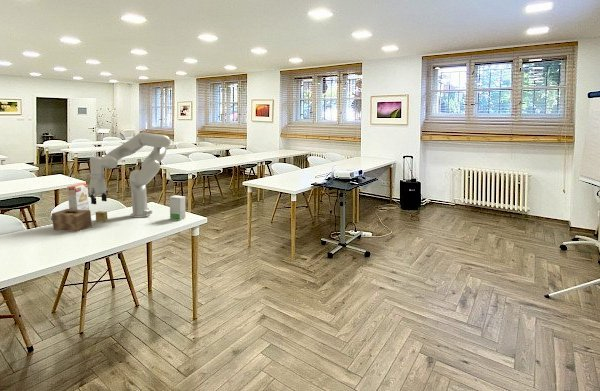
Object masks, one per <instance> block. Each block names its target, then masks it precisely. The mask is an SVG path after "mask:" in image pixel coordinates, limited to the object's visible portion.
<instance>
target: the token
mask: <svg viewBox="0 0 600 391" xmlns="http://www.w3.org/2000/svg"><path fill="white" fill-rule="evenodd" d="M108 220H109V219H108V212H107V211H102V210H97V211H95V222H102V223H104V222H108Z"/></svg>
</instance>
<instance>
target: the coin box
mask: <svg viewBox="0 0 600 391" xmlns="http://www.w3.org/2000/svg"><path fill="white" fill-rule="evenodd" d="M51 220H52V227H53V229H52V230H54V231H65V232H77V233H78V232H81V231H83V230H85V229H88V228H90V227H92V226H93V224H92V214H91V210H90V209H89V210H77V209H69V208H65V209H62V210H59V211H56V212H53V213H51ZM80 230H81V231H80Z"/></svg>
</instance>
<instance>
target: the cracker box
mask: <svg viewBox="0 0 600 391" xmlns="http://www.w3.org/2000/svg"><path fill="white" fill-rule="evenodd" d="M88 187H89V186H88V183H85V182H84V183H83V182H81V183H80V182H79V183H75V184H73V185H69V186H67V187H66V189H67V190H66V191H67V197H68V209H77V210H90V201H89V199H90V198H89V194H88V192H89V190H88Z"/></svg>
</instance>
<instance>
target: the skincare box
mask: <svg viewBox="0 0 600 391" xmlns="http://www.w3.org/2000/svg"><path fill="white" fill-rule="evenodd" d="M184 218H185V219H186V196H184V195H183V196H182V195H176V194H175V195H171V196H169V219H170V220H173V221H174V220H175V221H179V220H181V221H183V220H185V219H184ZM182 219H183V220H182Z"/></svg>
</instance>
